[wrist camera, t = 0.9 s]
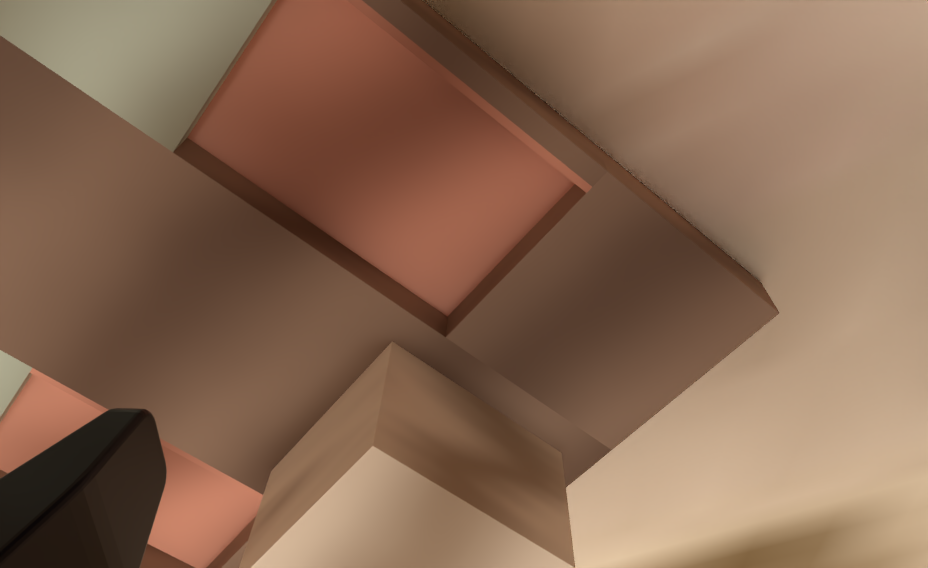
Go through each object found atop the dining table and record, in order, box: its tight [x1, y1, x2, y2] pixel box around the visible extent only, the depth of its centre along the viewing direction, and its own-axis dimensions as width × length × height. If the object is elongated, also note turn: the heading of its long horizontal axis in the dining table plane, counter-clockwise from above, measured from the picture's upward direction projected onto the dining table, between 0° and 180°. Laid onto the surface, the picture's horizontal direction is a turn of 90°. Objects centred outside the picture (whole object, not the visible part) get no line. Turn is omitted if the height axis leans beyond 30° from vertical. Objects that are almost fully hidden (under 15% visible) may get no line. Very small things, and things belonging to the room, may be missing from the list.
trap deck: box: [0, 0, 779, 568], centre depth 20 cm, size 23×20×3 cm
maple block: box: [239, 342, 575, 568], centre depth 21 cm, size 6×6×4 cm
